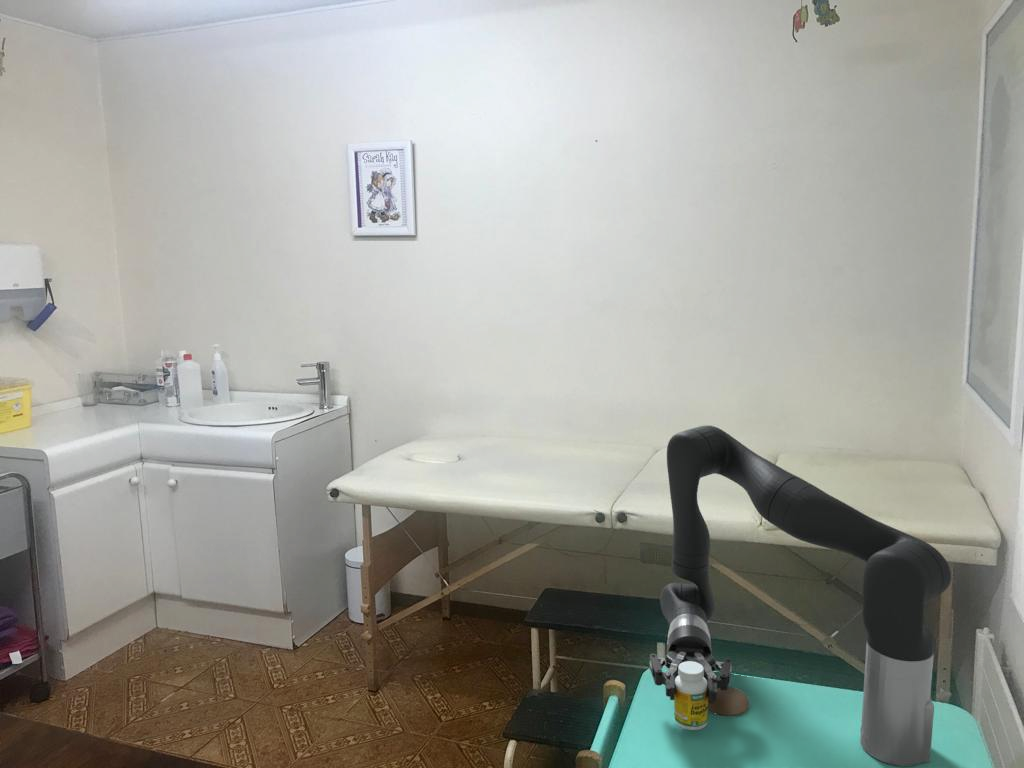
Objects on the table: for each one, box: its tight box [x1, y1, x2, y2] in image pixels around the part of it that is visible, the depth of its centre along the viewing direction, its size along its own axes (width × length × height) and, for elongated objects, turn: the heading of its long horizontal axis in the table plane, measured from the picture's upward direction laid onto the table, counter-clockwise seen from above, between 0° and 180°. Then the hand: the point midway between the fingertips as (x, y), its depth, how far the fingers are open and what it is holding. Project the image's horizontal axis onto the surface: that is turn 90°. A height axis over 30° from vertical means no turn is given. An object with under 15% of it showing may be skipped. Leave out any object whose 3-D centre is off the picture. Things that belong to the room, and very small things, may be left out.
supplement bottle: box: [673, 661, 709, 731], centre depth 131 cm, size 5×5×10 cm
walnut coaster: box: [708, 685, 750, 717], centre depth 140 cm, size 8×8×1 cm
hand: (691, 696), depth 128 cm, fingers closed on supplement bottle, 5 cm apart
